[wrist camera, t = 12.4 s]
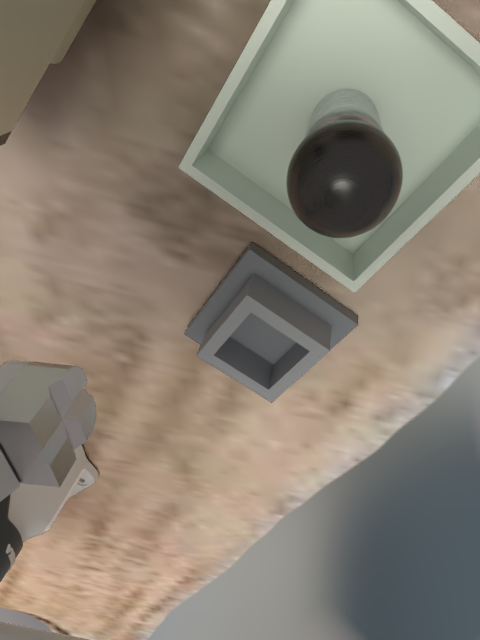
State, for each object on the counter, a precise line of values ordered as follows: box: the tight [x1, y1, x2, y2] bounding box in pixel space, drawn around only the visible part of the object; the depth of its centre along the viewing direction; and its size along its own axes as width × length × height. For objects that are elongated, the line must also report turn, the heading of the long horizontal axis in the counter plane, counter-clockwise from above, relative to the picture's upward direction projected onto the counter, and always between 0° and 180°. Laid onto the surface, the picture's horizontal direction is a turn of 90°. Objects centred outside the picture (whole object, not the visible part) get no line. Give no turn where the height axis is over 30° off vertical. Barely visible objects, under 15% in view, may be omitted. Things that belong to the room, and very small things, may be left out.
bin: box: [178, 0, 480, 293], centre depth 25 cm, size 13×13×4 cm
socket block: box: [184, 242, 358, 403], centre depth 35 cm, size 10×10×4 cm
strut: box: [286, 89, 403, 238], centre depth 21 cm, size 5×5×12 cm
